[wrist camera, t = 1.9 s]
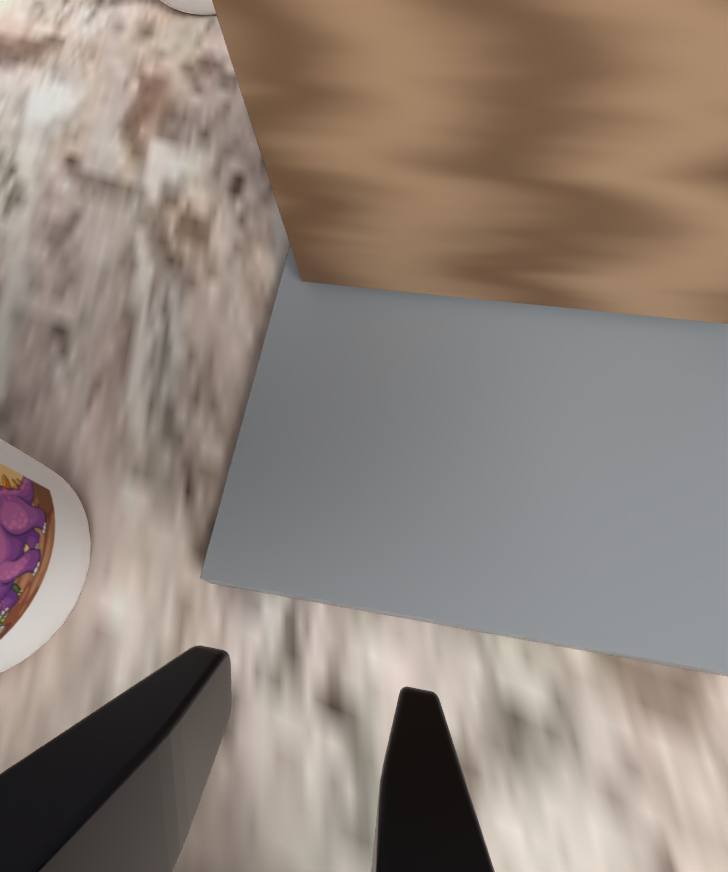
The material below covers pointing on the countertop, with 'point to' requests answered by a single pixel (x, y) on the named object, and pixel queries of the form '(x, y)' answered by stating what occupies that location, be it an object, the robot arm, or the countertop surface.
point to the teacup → (192, 6)
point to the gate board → (487, 470)
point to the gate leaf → (497, 146)
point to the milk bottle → (37, 554)
